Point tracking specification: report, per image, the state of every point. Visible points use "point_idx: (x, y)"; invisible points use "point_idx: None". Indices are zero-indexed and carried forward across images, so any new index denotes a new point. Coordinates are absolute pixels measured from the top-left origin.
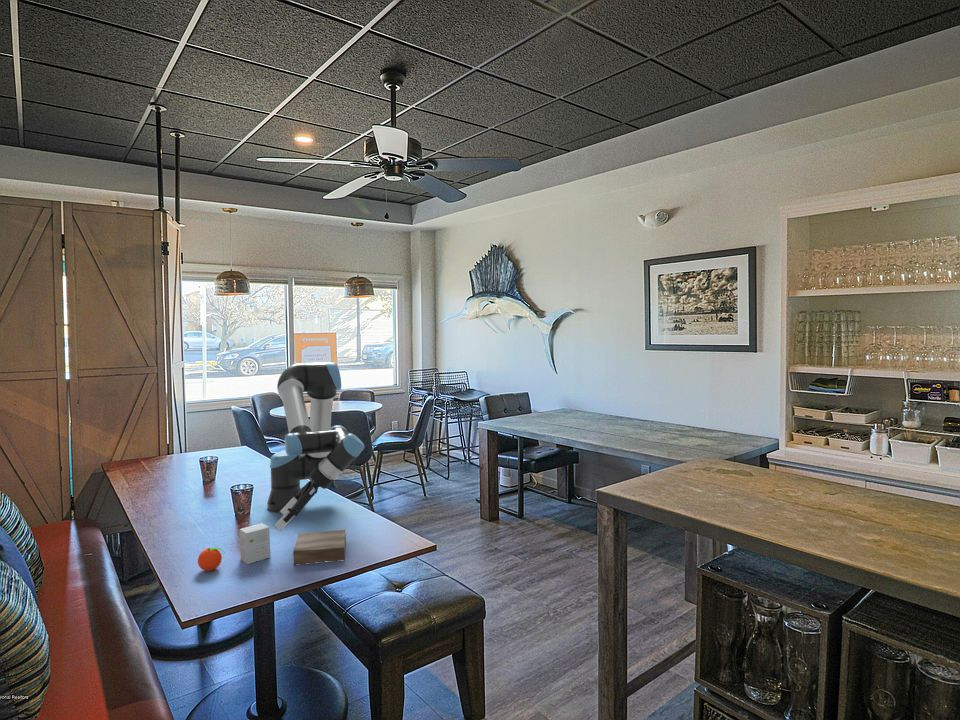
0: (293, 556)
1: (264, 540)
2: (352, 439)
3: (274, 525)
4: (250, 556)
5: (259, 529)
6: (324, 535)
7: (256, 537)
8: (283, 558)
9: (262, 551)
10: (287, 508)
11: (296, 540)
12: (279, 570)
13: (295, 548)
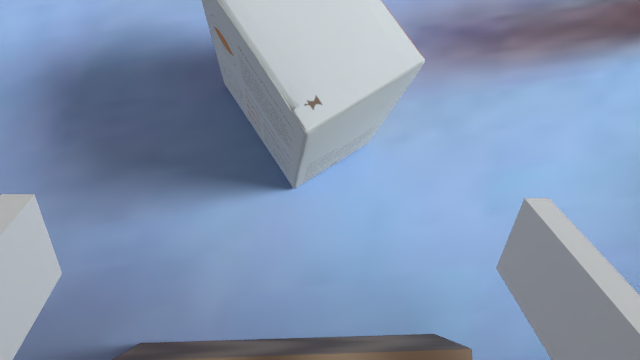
0: (122, 354)
1: (276, 129)
2: None
3: (2, 196)
4: (228, 81)
5: (266, 57)
6: None
7: (242, 63)
8: (261, 265)
9: (267, 138)
10: (557, 289)
11: (326, 354)
12: (87, 266)
13: None
